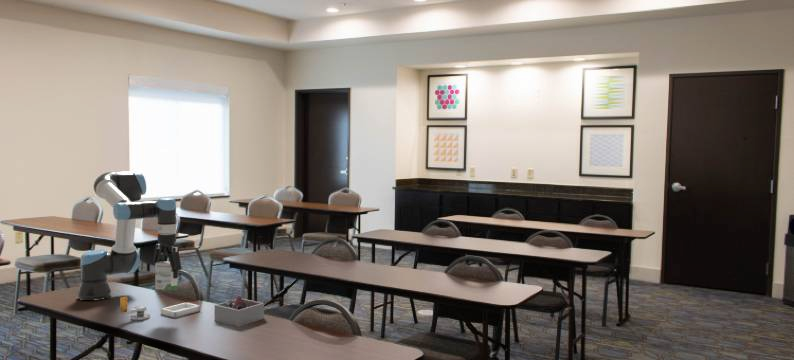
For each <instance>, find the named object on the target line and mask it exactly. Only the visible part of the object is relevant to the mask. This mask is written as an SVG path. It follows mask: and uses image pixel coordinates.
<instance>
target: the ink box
mask: <svg viewBox="0 0 794 360" xmlns="http://www.w3.org/2000/svg"><path fill="white" fill-rule="evenodd" d="M174 268H175V267H174ZM154 270H155V272H154V275H155V276H154V277H155V279H154V283H155V287H154V288H155V290H164V291H165V290H166V291H167V290H169V291H174V290H176V289H178V288H179V277H178V278H177V285H175V286H171V270H172V268H171V265H170V262H169V260H168V261H167V260H166V261H165V260H164V261H160V262H157V263H155V265H154Z"/></svg>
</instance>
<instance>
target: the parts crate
mask: <svg viewBox="0 0 794 360" xmlns="http://www.w3.org/2000/svg"><path fill="white" fill-rule="evenodd" d="M236 299H237V298H236ZM236 299H230V300H231V301H232V303H235V301H236ZM242 299H243V300H244V302H245V304H246V307H247V308H244V309H242V308H241V309H240V310H237V309H232V308H228V305H227V304H226V302H227V301H224V302H221V303H217V304H214V321H215V322H219V323H221V324H222V323H223V324H227V325H230V326H234V327H238V328H239V327H242V326H244V325H248V324H252V323H254V322H257V321H260V320H261V321H262V320H264V319H265V303H264V302H261V301H256V300H251V299H247V298H242ZM240 301H241V300H240ZM240 305H241V307H242V304H240Z"/></svg>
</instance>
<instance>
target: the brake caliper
mask: <svg viewBox="0 0 794 360" xmlns="http://www.w3.org/2000/svg"><path fill="white" fill-rule="evenodd" d="M243 299H244V298H242V296H241V295H240V294H238V295H237V297H236V301H235V303H232V301H231V300H232V299H227V301H225V302H226V304H227V305H228V308H232V309H237V310H240V309H241V308H242V309H244V308H247V307H246V304H245V302H244V300H243ZM240 300H241V301H240ZM240 304H242V307H241V305H240Z"/></svg>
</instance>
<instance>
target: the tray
mask: <svg viewBox="0 0 794 360" xmlns="http://www.w3.org/2000/svg"><path fill="white" fill-rule="evenodd" d="M200 311H201V305H200V304H195V303H191V302H188V301H186V302H182V303H179V304H175V305H170V306H167V307H162V308H160V315H164V316H166V317H171V318H175V319H176V318H179V317H183V316H187V315H191V314H194V313H197V312H200ZM190 313H191V314H190Z"/></svg>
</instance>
